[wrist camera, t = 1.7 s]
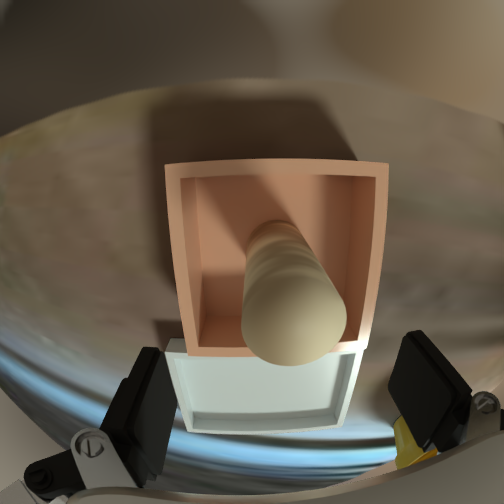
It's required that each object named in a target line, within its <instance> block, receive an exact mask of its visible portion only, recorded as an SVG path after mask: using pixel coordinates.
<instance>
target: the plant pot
mask: <svg viewBox="0 0 504 504" xmlns="http://www.w3.org/2000/svg"><path fill="white" fill-rule="evenodd" d="M393 429H394V435H395V441H396V448H397V456H396V458H395V463H396V466H397V469H398V470H399V469H402V468H405V467H408V466H410V465H413V464H416V463H418V462H421V461H424V460H426V459H429V458H431V457H433V456H436V455H437V452H438V450H437V448H435V449H433V450H431V451H428V452H426V453H424V452H423V450H422V448H419V447H418V446H417V444H416V442H415V440H414V438H413V436H412V434H411V432H410V430H409V428H408V426H407V424H406V422H405V420H404V418H403V417H402V415H401V416H400V417H399V418H398V419H397V420H396V422H395V424H394V427H393Z"/></svg>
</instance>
